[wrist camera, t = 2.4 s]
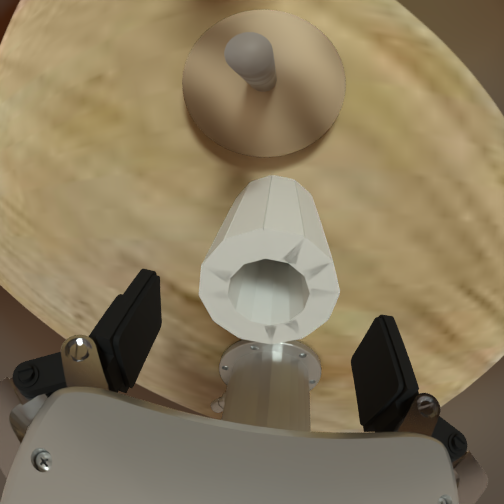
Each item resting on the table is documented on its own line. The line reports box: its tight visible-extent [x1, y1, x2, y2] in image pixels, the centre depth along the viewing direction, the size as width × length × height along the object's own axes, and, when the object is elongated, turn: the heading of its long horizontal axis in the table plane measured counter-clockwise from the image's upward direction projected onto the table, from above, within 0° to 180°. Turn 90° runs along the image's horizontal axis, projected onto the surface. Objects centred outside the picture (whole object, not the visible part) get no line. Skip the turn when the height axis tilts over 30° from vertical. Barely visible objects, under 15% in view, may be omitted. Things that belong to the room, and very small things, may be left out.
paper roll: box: [199, 175, 340, 344], centre depth 19 cm, size 7×7×11 cm
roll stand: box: [182, 10, 346, 157], centre depth 14 cm, size 12×12×10 cm
